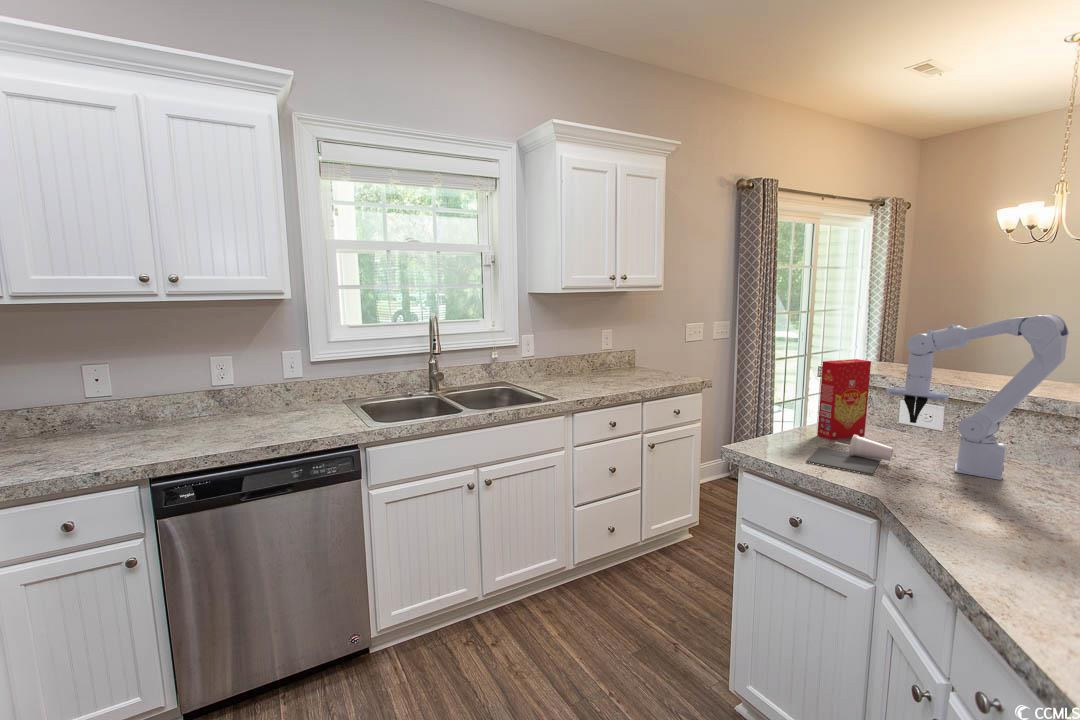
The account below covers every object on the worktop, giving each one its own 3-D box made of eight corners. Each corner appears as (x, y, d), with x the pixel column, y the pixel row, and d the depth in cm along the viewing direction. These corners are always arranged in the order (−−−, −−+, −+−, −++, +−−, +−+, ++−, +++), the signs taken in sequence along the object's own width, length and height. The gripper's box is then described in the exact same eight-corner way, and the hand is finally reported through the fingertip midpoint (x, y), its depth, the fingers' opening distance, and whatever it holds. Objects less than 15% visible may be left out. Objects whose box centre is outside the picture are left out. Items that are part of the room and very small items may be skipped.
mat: (880, 459, 149) (881, 457, 149) (872, 475, 137) (872, 473, 137) (819, 448, 159) (819, 446, 159) (806, 462, 147) (806, 460, 147)
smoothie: (890, 464, 147) (835, 450, 156) (895, 442, 146) (840, 430, 156) (887, 466, 142) (830, 451, 151) (892, 443, 142) (835, 430, 151)
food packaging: (830, 439, 168) (836, 363, 164) (817, 435, 173) (822, 361, 169) (864, 435, 173) (871, 361, 169) (850, 431, 178) (856, 359, 174)
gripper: (886, 374, 149) (881, 420, 151) (950, 381, 140) (944, 429, 142) (889, 371, 154) (884, 415, 156) (951, 377, 145) (945, 424, 147)
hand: (913, 422), depth 150 cm, fingers closed
